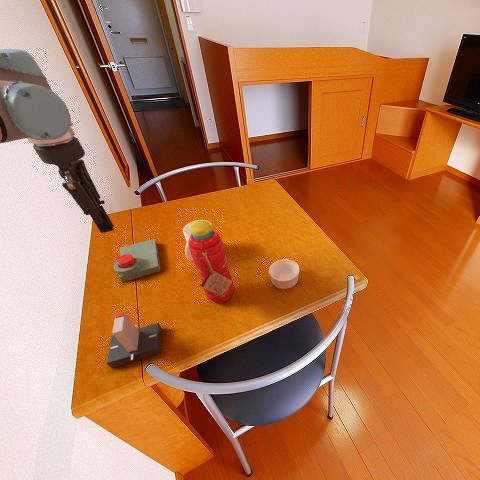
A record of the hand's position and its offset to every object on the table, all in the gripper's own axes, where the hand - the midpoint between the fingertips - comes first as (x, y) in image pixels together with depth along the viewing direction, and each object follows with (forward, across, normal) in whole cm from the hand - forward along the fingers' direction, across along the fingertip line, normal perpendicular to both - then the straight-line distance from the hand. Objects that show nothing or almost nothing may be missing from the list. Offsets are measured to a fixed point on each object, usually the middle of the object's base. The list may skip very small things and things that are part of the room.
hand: (107, 229), depth 72 cm
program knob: (+14, -27, -1) cm, 31 cm away
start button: (+13, 0, 0) cm, 13 cm away
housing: (+16, +4, -2) cm, 17 cm away
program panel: (+16, -27, -1) cm, 32 cm away
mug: (+17, -2, -20) cm, 26 cm away
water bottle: (+17, -22, -22) cm, 35 cm away
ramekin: (+17, -23, -40) cm, 49 cm away
